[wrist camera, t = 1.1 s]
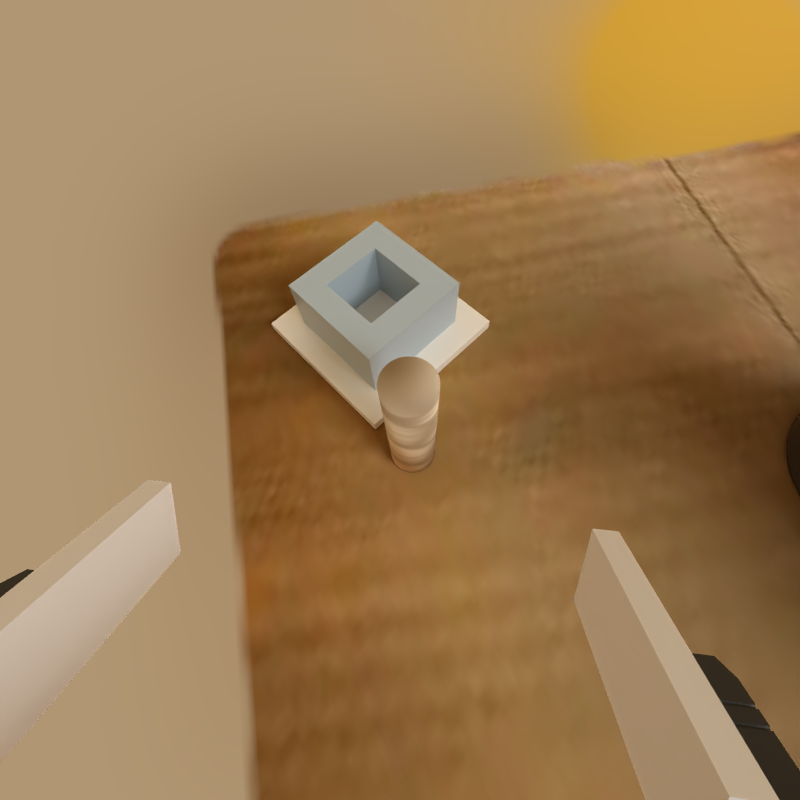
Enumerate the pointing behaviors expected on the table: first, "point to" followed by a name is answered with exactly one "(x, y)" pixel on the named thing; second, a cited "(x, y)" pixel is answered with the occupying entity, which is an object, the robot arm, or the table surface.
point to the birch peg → (410, 410)
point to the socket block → (375, 315)
